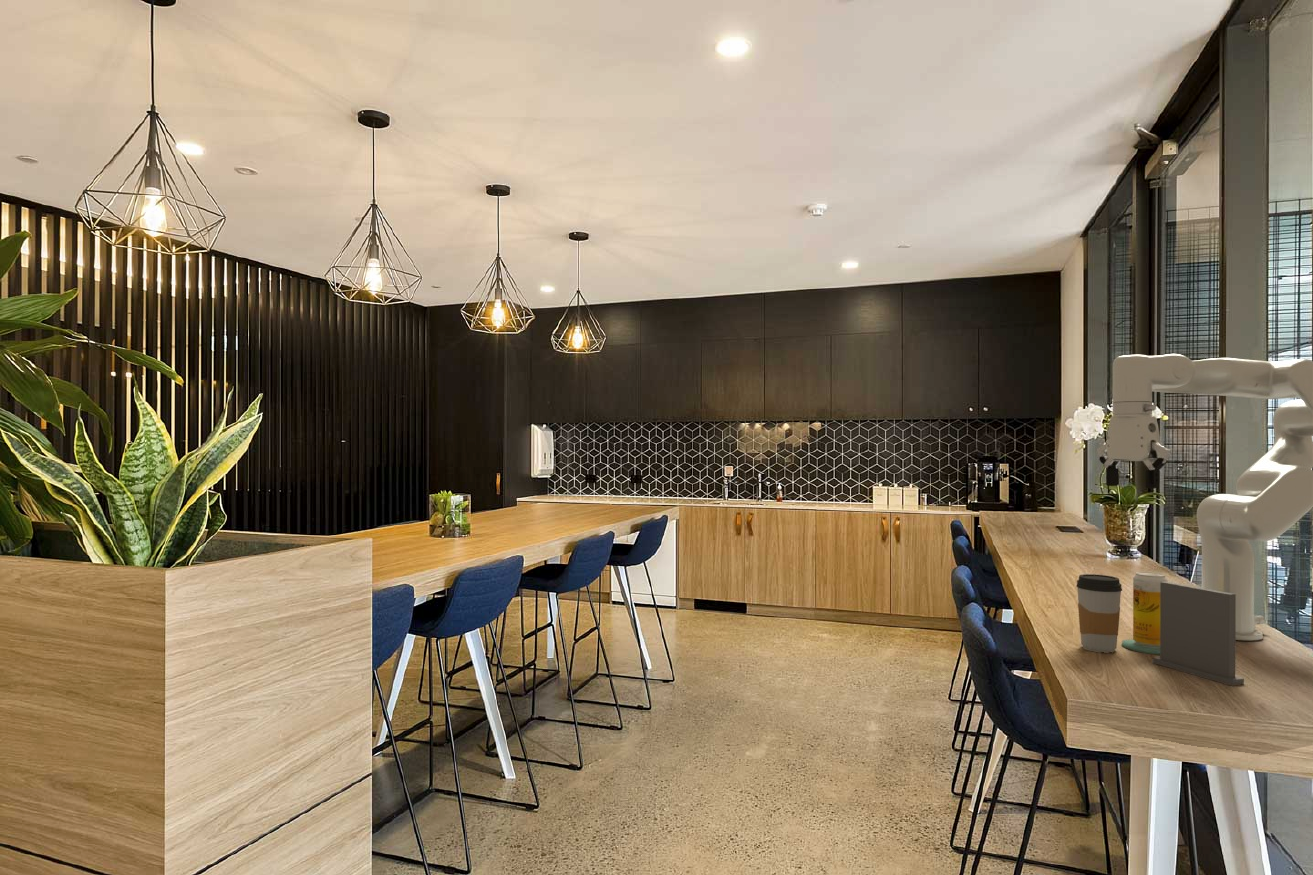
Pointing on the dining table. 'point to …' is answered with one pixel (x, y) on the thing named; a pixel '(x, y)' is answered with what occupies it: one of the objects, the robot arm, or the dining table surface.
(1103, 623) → the coffee cup
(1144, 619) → the beer can
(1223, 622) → the screen
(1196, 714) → the dining table surface
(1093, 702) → the dining table surface
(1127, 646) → the coaster
